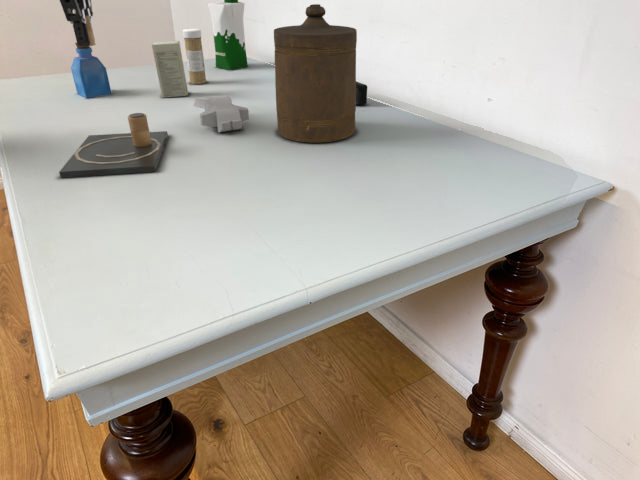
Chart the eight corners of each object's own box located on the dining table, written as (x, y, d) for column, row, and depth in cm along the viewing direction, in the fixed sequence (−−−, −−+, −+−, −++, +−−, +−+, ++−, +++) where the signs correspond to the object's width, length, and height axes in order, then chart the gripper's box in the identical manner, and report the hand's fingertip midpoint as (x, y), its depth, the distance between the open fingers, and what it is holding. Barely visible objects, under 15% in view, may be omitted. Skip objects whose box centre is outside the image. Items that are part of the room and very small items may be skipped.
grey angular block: (205, 116, 87) (187, 89, 98) (208, 142, 90) (190, 114, 101) (255, 110, 91) (232, 85, 101) (256, 135, 94) (233, 108, 104)
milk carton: (252, 66, 150) (246, -6, 140) (229, 71, 144) (222, -4, 134) (233, 63, 155) (227, -7, 145) (211, 67, 149) (202, -5, 139)
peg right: (132, 147, 82) (125, 117, 79) (135, 141, 85) (129, 112, 82) (150, 146, 82) (144, 116, 80) (152, 140, 85) (147, 111, 82)
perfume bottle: (77, 93, 120) (64, 42, 114) (102, 89, 124) (90, 40, 118) (86, 98, 116) (73, 45, 110) (111, 94, 120) (100, 42, 114)
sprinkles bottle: (194, 80, 132) (187, 27, 126) (209, 81, 132) (203, 28, 125) (186, 84, 129) (179, 30, 122) (202, 85, 128) (195, 30, 121)
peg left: (76, 46, 89) (69, 16, 87) (80, 44, 92) (73, 14, 89) (93, 46, 90) (87, 15, 87) (97, 43, 92) (90, 14, 90)
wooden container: (328, 116, 101) (328, 0, 90) (370, 135, 90) (376, 5, 79) (264, 127, 95) (256, 3, 84) (301, 149, 84) (297, 9, 73)
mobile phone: (370, 83, 107) (328, 71, 117) (359, 85, 105) (318, 72, 115) (368, 105, 109) (328, 91, 119) (358, 107, 108) (318, 93, 118)
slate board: (60, 178, 73) (58, 171, 73) (90, 140, 89) (88, 134, 88) (155, 171, 75) (153, 165, 74) (168, 136, 90) (167, 130, 90)
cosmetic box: (188, 92, 121) (180, 40, 115) (187, 96, 117) (180, 42, 111) (161, 93, 120) (152, 41, 113) (160, 98, 116) (151, 43, 110)
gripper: (50, -62, 87) (75, 39, 96) (23, -66, 76) (54, 50, 84) (93, -62, 89) (114, 38, 97) (74, -66, 77) (99, 49, 85)
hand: (86, 43), depth 91 cm, fingers closed on peg left, 3 cm apart
